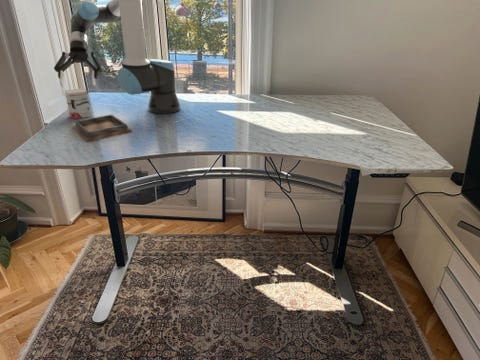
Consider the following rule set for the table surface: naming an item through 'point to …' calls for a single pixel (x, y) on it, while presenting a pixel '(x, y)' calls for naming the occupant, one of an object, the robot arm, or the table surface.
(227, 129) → the table surface
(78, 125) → the tray
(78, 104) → the ink box
